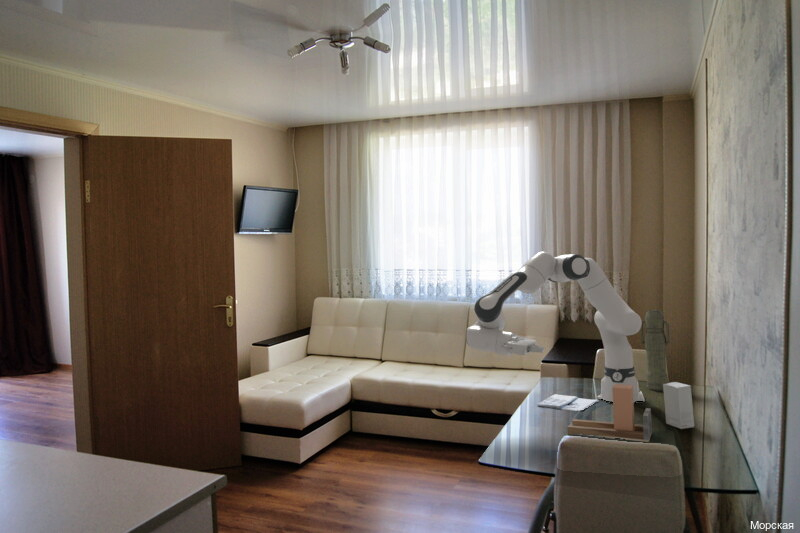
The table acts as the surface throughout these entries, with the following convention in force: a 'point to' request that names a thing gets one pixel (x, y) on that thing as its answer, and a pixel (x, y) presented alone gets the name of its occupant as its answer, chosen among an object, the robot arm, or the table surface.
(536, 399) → the table surface
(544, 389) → the table surface
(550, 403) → the folded bicycle print cloth
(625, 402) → the post
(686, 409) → the skincare box
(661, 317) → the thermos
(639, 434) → the chute
